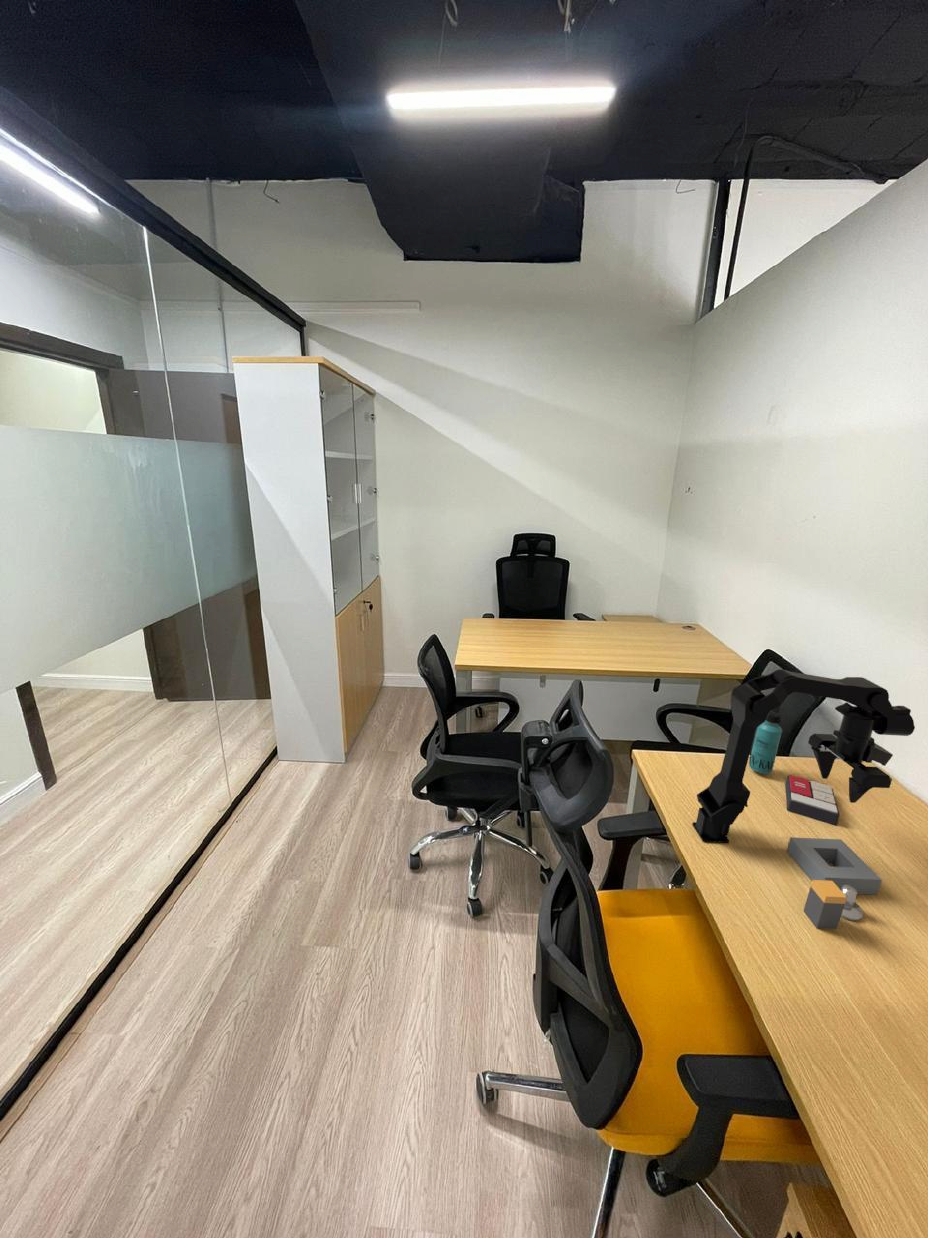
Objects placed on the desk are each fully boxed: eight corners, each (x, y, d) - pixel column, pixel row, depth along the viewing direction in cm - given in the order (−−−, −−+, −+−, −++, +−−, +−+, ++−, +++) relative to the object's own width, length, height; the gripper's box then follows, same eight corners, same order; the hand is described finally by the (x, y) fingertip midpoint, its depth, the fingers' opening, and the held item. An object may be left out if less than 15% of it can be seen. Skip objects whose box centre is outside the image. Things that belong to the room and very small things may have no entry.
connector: (816, 928, 96) (826, 896, 94) (803, 911, 100) (812, 880, 97) (836, 929, 96) (847, 897, 94) (822, 912, 100) (832, 880, 97)
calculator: (833, 785, 137) (840, 812, 124) (829, 798, 138) (836, 827, 125) (787, 772, 142) (790, 797, 129) (784, 785, 143) (786, 811, 130)
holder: (820, 892, 104) (825, 877, 103) (786, 851, 116) (790, 837, 115) (876, 894, 104) (881, 879, 103) (836, 853, 116) (841, 839, 115)
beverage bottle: (749, 763, 152) (762, 706, 146) (773, 772, 148) (787, 713, 142) (744, 772, 147) (758, 713, 141) (770, 781, 143) (784, 721, 137)
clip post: (839, 920, 98) (845, 901, 96) (819, 896, 103) (825, 877, 102) (869, 922, 98) (876, 902, 96) (847, 897, 103) (853, 878, 102)
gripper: (926, 755, 102) (905, 817, 107) (859, 714, 120) (843, 768, 125) (873, 753, 103) (854, 815, 107) (814, 712, 120) (799, 767, 125)
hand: (837, 790), depth 116 cm, fingers open, 9 cm apart
